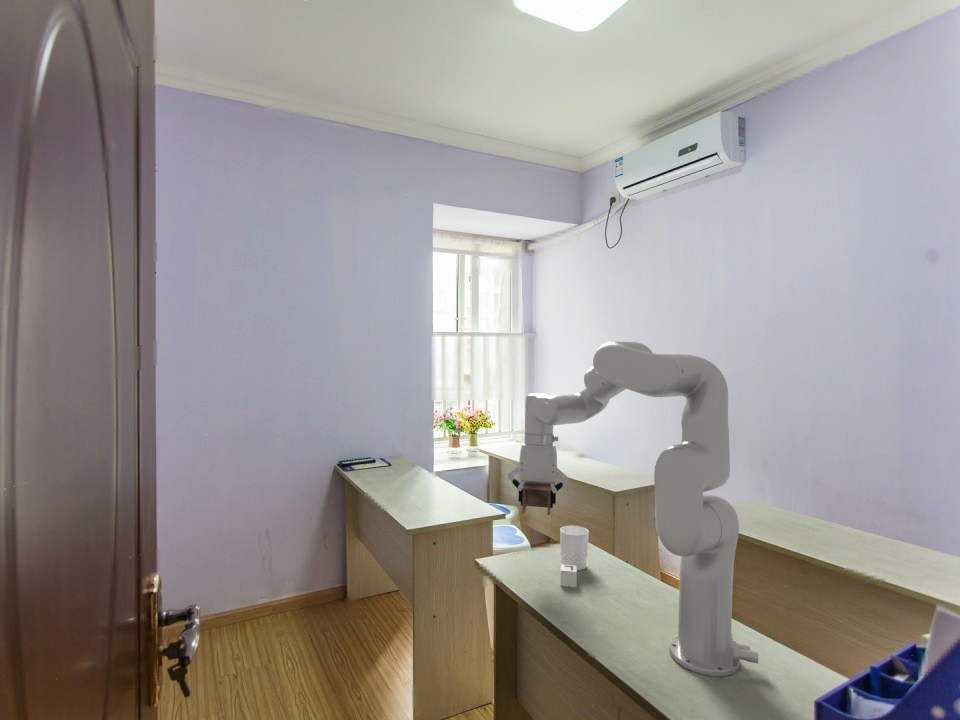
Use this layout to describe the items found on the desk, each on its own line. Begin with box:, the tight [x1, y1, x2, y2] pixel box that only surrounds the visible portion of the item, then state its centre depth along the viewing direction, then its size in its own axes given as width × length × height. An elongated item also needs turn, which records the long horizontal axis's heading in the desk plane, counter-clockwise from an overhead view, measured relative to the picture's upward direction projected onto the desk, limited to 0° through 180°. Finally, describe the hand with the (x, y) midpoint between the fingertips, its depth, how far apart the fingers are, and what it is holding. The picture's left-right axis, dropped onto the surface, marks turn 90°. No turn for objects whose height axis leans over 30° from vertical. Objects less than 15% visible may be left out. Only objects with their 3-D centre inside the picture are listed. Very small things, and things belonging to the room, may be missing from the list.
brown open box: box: [521, 482, 552, 516], centre depth 142 cm, size 7×7×7 cm
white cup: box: [559, 525, 590, 571], centre depth 147 cm, size 8×8×10 cm
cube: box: [560, 564, 578, 588], centre depth 136 cm, size 4×4×4 cm
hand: (536, 505), depth 142 cm, fingers closed on brown open box, 7 cm apart
